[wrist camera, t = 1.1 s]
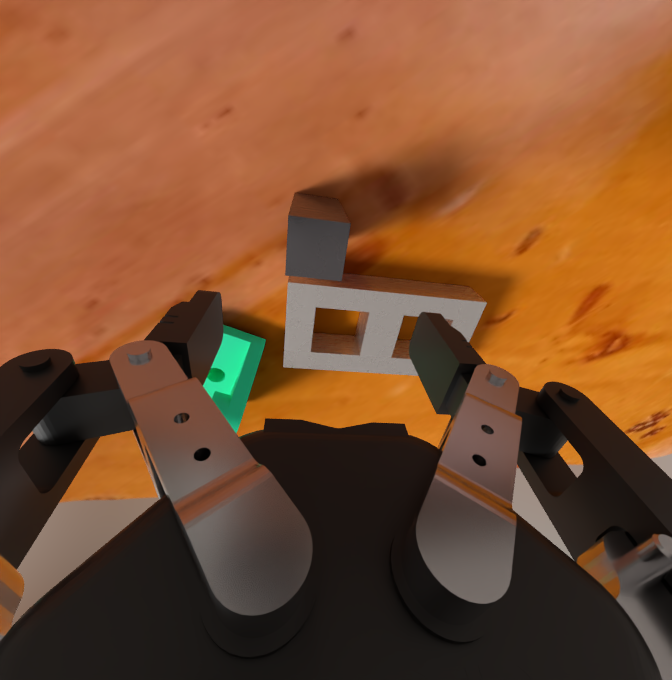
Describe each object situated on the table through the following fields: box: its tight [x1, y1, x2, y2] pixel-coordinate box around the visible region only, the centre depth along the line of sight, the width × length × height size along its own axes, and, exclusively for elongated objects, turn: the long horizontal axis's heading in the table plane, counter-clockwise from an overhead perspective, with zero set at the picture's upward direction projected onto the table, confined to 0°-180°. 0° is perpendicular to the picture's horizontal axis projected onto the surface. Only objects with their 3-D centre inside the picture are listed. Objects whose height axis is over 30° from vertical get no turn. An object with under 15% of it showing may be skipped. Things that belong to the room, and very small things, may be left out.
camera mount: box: [203, 325, 266, 433], centre depth 33 cm, size 12×8×10 cm, turn 154°
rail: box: [283, 273, 487, 376], centre depth 33 cm, size 10×20×4 cm, turn 82°
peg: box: [285, 193, 351, 281], centre depth 24 cm, size 4×4×10 cm
